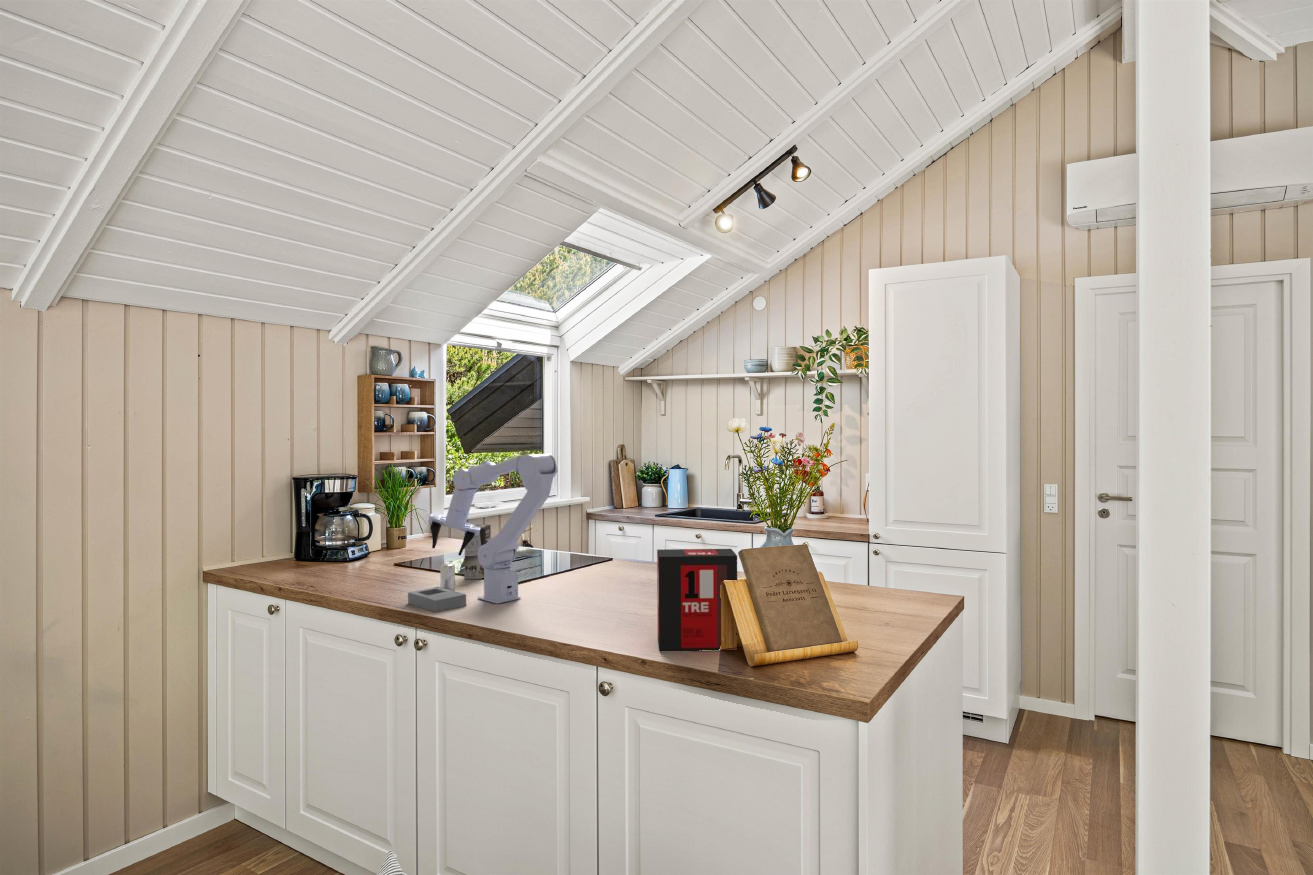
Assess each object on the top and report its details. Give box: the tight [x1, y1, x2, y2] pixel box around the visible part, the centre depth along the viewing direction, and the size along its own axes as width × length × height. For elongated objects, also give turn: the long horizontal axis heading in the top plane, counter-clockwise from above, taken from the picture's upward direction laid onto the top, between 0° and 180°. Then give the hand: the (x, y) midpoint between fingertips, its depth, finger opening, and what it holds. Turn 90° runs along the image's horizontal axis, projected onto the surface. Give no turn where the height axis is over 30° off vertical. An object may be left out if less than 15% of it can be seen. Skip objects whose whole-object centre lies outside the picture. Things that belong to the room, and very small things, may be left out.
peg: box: [439, 563, 456, 591], centre depth 202 cm, size 4×4×8 cm
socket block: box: [407, 586, 467, 613], centre depth 188 cm, size 14×9×3 cm, turn 48°
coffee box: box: [464, 524, 492, 580], centre depth 225 cm, size 9×6×16 cm
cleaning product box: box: [656, 548, 738, 652], centre depth 151 cm, size 16×9×20 cm, turn 92°
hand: (446, 550), depth 203 cm, fingers open, 7 cm apart
